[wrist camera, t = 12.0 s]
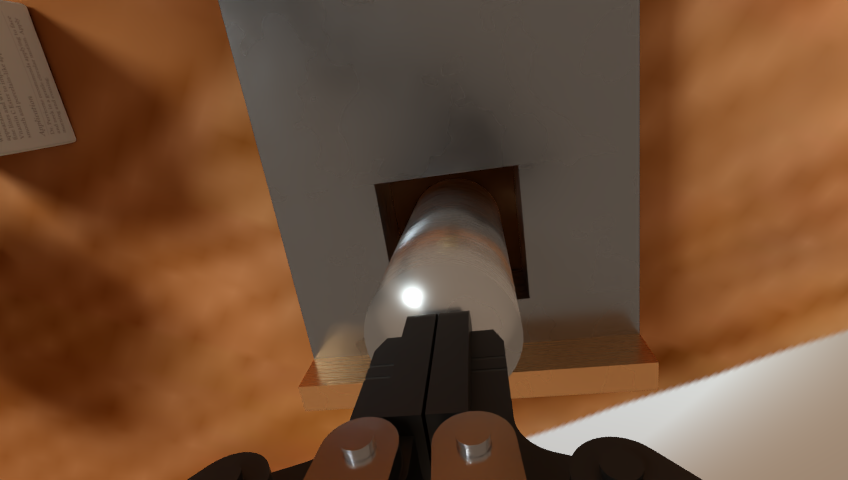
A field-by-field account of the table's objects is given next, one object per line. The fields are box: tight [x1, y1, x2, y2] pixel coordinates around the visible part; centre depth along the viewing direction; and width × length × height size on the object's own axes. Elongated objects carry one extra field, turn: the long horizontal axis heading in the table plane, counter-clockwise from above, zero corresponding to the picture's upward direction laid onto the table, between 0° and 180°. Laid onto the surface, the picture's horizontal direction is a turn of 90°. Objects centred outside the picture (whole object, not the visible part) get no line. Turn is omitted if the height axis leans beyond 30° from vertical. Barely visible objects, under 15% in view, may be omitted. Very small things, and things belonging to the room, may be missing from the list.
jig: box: [218, 0, 659, 411], centre depth 18 cm, size 16×14×5 cm
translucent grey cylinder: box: [364, 178, 523, 377], centre depth 16 cm, size 4×4×10 cm
